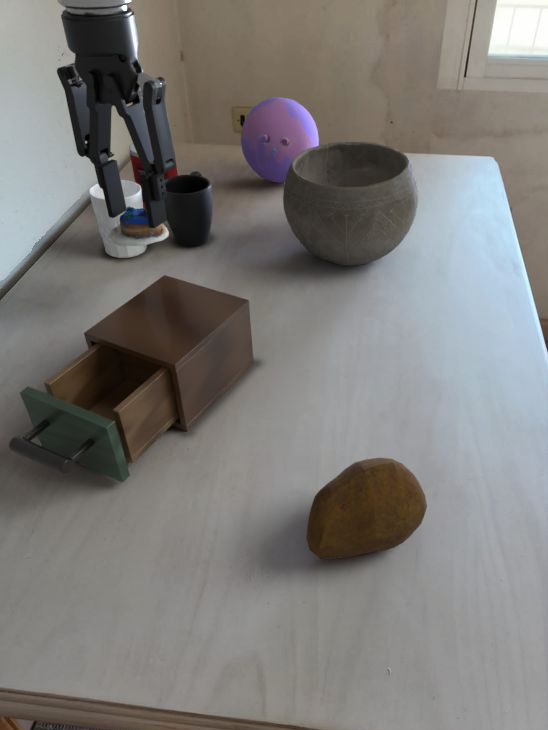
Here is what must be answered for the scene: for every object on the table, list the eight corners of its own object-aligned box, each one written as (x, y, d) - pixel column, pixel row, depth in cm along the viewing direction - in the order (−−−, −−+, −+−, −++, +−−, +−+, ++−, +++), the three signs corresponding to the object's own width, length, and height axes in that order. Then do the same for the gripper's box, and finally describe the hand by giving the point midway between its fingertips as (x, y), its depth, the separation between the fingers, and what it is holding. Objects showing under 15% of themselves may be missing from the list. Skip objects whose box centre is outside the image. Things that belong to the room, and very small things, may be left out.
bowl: (266, 270, 100) (261, 175, 90) (310, 216, 114) (310, 129, 104) (394, 293, 95) (404, 196, 85) (423, 234, 109) (434, 145, 99)
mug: (227, 221, 113) (222, 167, 106) (209, 252, 104) (203, 195, 97) (182, 217, 113) (174, 164, 107) (161, 248, 105) (151, 192, 98)
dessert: (183, 227, 84) (155, 200, 79) (160, 270, 83) (130, 245, 78) (142, 216, 88) (114, 189, 83) (120, 256, 87) (90, 232, 82)
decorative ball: (239, 194, 121) (232, 110, 111) (248, 165, 132) (243, 86, 122) (316, 196, 121) (317, 112, 111) (319, 166, 132) (320, 88, 122)
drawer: (92, 513, 62) (71, 459, 57) (8, 474, 66) (-18, 419, 61) (198, 407, 74) (190, 354, 69) (123, 379, 78) (109, 326, 72)
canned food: (168, 195, 121) (159, 135, 113) (190, 209, 116) (182, 147, 109) (132, 205, 117) (120, 144, 109) (153, 220, 112) (142, 157, 105)
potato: (293, 509, 64) (291, 449, 58) (403, 489, 66) (412, 429, 60) (312, 579, 58) (312, 519, 52) (433, 553, 60) (446, 494, 54)
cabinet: (187, 431, 72) (175, 365, 66) (102, 398, 76) (83, 332, 70) (253, 363, 82) (249, 299, 75) (175, 337, 86) (164, 274, 79)
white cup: (111, 264, 100) (98, 203, 94) (95, 244, 105) (82, 185, 98) (157, 253, 104) (148, 193, 97) (140, 234, 108) (130, 176, 102)
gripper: (3, 4, 66) (61, 215, 82) (147, 23, 60) (180, 246, 76) (54, -6, 71) (100, 194, 87) (191, 10, 65) (214, 221, 81)
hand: (137, 218), depth 82 cm, fingers closed on dessert, 6 cm apart
